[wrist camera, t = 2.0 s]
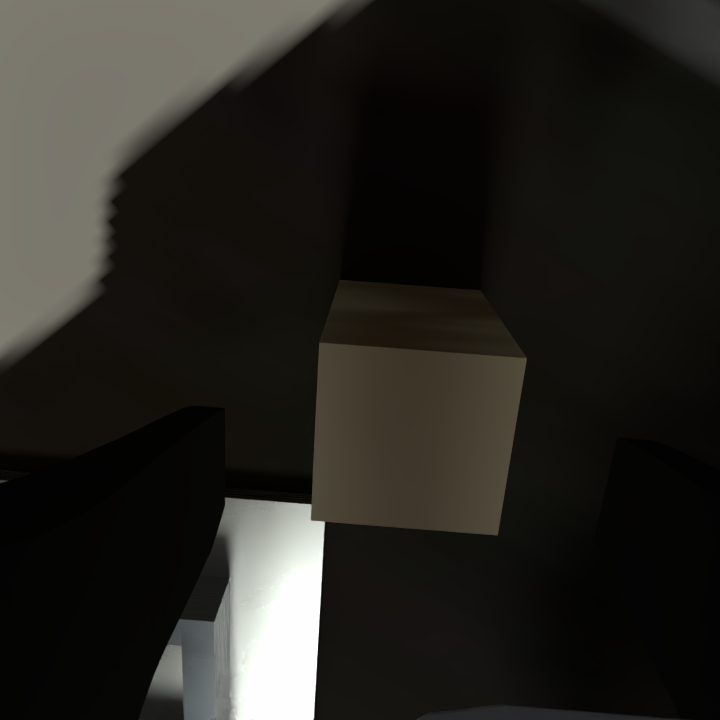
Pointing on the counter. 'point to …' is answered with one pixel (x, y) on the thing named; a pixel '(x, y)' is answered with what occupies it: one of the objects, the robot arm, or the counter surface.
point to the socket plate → (247, 617)
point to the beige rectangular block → (414, 409)
